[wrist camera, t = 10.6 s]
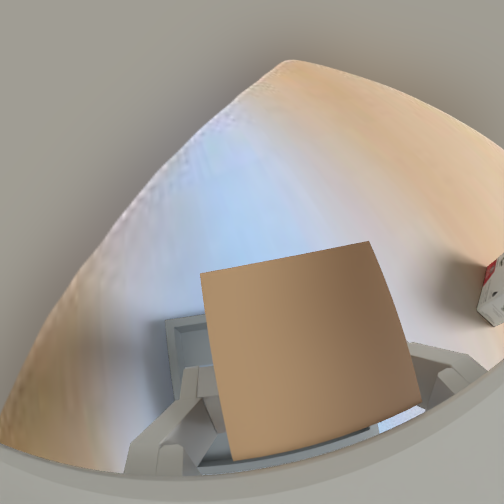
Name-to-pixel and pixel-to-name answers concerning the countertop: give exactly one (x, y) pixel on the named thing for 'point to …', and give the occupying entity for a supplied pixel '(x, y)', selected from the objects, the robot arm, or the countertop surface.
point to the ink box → (493, 293)
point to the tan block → (306, 349)
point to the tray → (219, 454)
